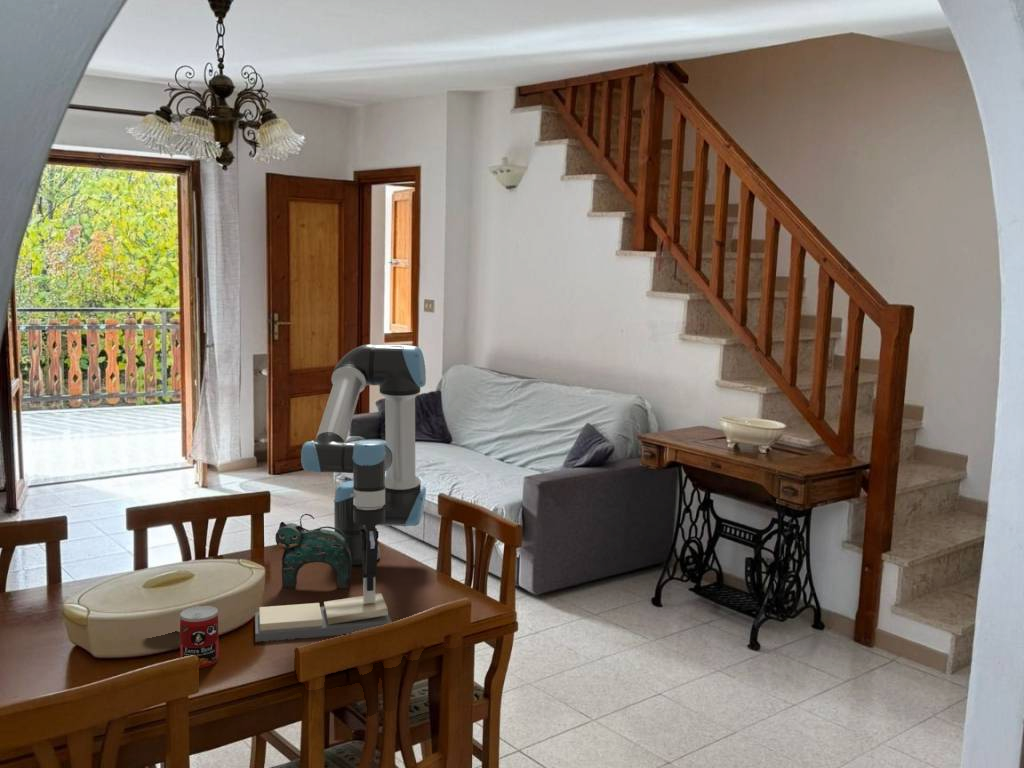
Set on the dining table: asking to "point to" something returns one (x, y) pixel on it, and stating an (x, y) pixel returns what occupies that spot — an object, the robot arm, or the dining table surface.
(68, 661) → the dining table surface
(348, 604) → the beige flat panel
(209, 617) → the canned food
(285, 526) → the ceramic cat
